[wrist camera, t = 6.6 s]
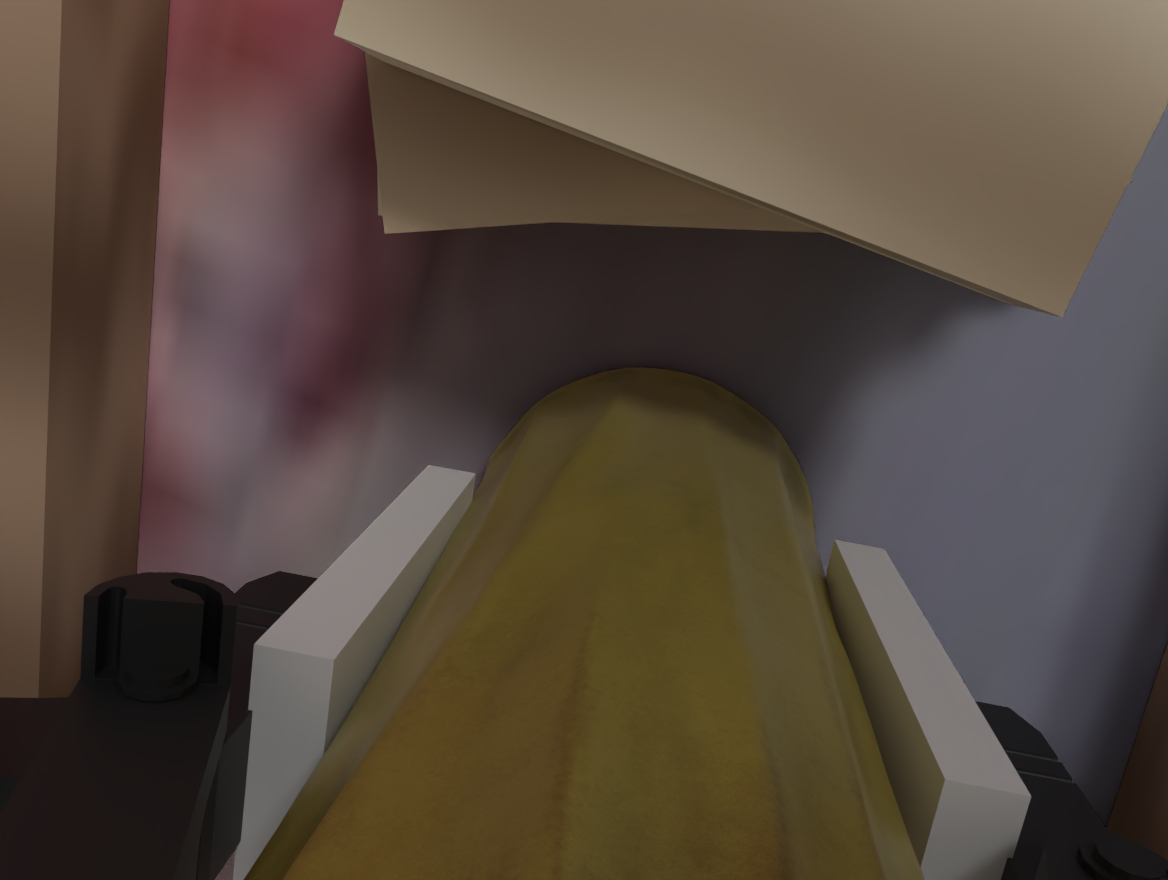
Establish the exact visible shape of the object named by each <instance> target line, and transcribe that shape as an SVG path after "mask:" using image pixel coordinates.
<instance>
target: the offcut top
mask: <svg viewBox="0 0 1168 880" xmlns="http://www.w3.org/2000/svg"><path fill="white" fill-rule="evenodd" d="M334 35H335V36H337V37H339V38H341V39H342V40H344V41H346V42H348V43H350V44H352V45H354V46H355V47H357V48H359V49H361V50H363V51H365V52H366V53H368V54H370V55H372V56H374V57H376V58H378V59H379V60H381V61H383V62H386V63H388V64H391V65H393V66H396V67H399V68H401V69H404V70H406V71H409V72H412V73H414V74H417V75H419V76H422V77H424V78H427V79H430V80H432V81H435V82H437V83H440V84H442V85H445V86H448V87H450V88H453V89H455V90H458V91H460V92H463V93H466V94H468V95H471V96H473V97H476V98H479V99H481V100H484V101H486V102H489V103H491V104H494V105H497V106H499V107H502V108H504V109H507V110H509V111H512V112H515V113H517V114H520V115H522V116H525V117H528V118H530V119H533V120H535V121H538V122H540V123H543V124H546V125H548V126H551V127H553V128H556V129H558V130H561V131H564V132H566V133H569V134H571V135H574V136H577V137H579V138H582V139H584V140H587V141H589V142H592V143H595V144H597V145H600V146H602V147H605V148H607V149H610V150H613V151H615V152H618V153H620V154H623V155H625V156H628V157H631V158H633V159H636V160H638V161H641V162H644V163H646V164H649V165H651V166H654V167H656V168H659V169H662V170H664V171H667V172H669V173H672V174H674V175H677V176H680V177H682V178H685V179H687V180H690V181H693V182H695V183H698V184H700V185H703V186H705V187H708V188H711V189H713V190H716V191H718V192H721V193H723V194H726V195H729V196H731V197H734V198H736V199H739V200H741V201H744V202H747V203H749V204H752V205H754V206H757V207H760V208H762V209H765V210H767V211H770V212H772V213H775V214H778V215H780V216H783V217H785V218H788V219H790V220H793V221H796V222H798V223H801V224H803V225H806V226H809V227H811V228H814V229H816V230H819V231H821V232H824V233H827V234H829V235H832V236H834V237H837V238H839V239H842V240H845V241H847V242H850V243H852V244H855V245H857V246H860V247H863V248H865V249H868V250H870V251H873V252H876V253H878V254H881V255H883V256H886V257H888V258H891V259H894V260H896V261H899V262H901V263H904V264H906V265H909V266H912V267H914V268H917V269H919V270H922V271H925V272H927V273H930V274H932V275H935V276H937V277H940V278H943V279H945V280H948V281H950V282H953V283H955V284H958V285H961V286H963V287H966V288H968V289H971V290H974V291H976V292H979V293H981V294H984V295H986V296H989V297H992V298H994V299H997V300H999V301H1002V302H1004V303H1007V304H1011V305H1015V306H1019V307H1023V308H1027V309H1031V310H1035V311H1039V312H1043V313H1047V314H1051V315H1055V316H1059V317H1063V315H1064V313H1065V311H1066V309H1067V307H1068V305H1069V303H1070V301H1071V299H1072V297H1073V295H1074V293H1075V291H1076V288H1077V286H1078V284H1079V282H1080V280H1081V278H1082V276H1083V274H1084V272H1085V270H1086V268H1087V266H1088V264H1089V262H1090V260H1091V258H1092V256H1093V254H1094V252H1095V250H1096V248H1097V246H1098V244H1099V242H1100V240H1101V238H1102V236H1103V234H1104V232H1105V230H1106V228H1107V226H1108V224H1109V222H1110V220H1111V218H1112V216H1113V214H1114V212H1115V210H1116V208H1117V206H1118V204H1119V202H1120V200H1121V198H1122V196H1123V194H1124V191H1125V189H1126V187H1127V185H1128V183H1129V181H1130V179H1131V177H1132V175H1133V173H1134V171H1135V169H1136V167H1137V165H1138V163H1139V161H1140V159H1141V157H1142V155H1143V153H1144V151H1145V149H1146V147H1147V145H1148V143H1149V141H1150V139H1151V137H1152V135H1153V133H1154V131H1155V129H1156V127H1157V125H1158V123H1159V121H1160V119H1161V117H1162V115H1163V113H1164V111H1165V109H1166V107H1167V105H1168V0H344V2H343V5H342V9H341V12H340V15H339V19H338V22H337V26H336V29H335V33H334Z"/></svg>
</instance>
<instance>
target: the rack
mask: <svg viewBox="0 0 1168 880" xmlns="http://www.w3.org/2000/svg"><path fill="white" fill-rule="evenodd" d="M169 1H170V0H0V697H12V698H57V697H69V696H70V694H71V693H72V691H73V689H74V688H75V686H76V684H77V683H78V681H79V679H80V672H81V650H82V627H83V605H84V595H85V594H86V593H88V592H89V591H90V590H92V589H93V588H94V587H95V586H97V585H98V584H101V583H104V582H106V581H109V580H112V579H115V578H118V577H121V576H128V575H134V574H136V570H137V553H138V536H139V518H140V501H141V484H142V467H143V449H144V432H145V415H146V398H147V380H148V363H149V346H150V329H151V312H152V294H153V277H154V260H155V243H156V225H157V208H158V191H159V174H160V156H161V139H162V122H163V105H164V88H165V70H166V53H167V36H168V19H169ZM1106 829H1107V830H1108V832H1109V833H1113V834H1116V835H1118V836H1121V837H1123V838H1126V839H1128V840H1130V841H1133V842H1135V843H1137V844H1140V845H1142V846H1145V847H1146V848H1148V849H1150V850H1151V851H1153V852H1155V853H1156V854H1158V855H1160V856H1161V857H1163V858H1164V859H1166V860H1168V643H1167V646H1166V649H1165V652H1164V655H1163V658H1162V661H1161V664H1160V667H1159V670H1158V673H1157V676H1156V679H1155V682H1154V685H1153V689H1152V692H1151V695H1150V698H1149V701H1148V704H1147V707H1146V710H1145V713H1144V716H1143V719H1142V722H1141V725H1140V728H1139V731H1138V734H1137V737H1136V740H1135V743H1134V746H1133V749H1132V752H1131V755H1130V758H1129V761H1128V764H1127V767H1126V770H1125V773H1124V776H1123V779H1122V782H1121V785H1120V788H1119V791H1118V794H1117V797H1116V800H1115V804H1114V807H1113V810H1112V813H1111V816H1110V819H1109V822H1108V825H1107V828H1106Z"/></svg>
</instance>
